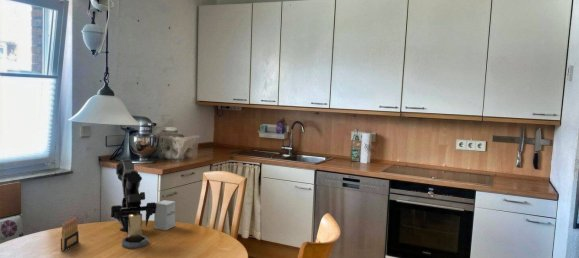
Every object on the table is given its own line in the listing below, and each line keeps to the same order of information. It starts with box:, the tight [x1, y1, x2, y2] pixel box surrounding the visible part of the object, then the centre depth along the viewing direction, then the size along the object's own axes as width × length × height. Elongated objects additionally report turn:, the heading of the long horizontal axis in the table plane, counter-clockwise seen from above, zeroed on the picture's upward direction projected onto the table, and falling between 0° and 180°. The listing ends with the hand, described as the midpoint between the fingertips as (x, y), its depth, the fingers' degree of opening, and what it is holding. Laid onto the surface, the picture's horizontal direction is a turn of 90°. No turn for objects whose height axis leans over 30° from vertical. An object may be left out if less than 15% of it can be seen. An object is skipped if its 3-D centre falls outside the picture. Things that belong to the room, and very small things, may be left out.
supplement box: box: [153, 199, 176, 231], centre depth 210 cm, size 7×7×13 cm
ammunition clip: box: [60, 215, 80, 251], centre depth 181 cm, size 11×2×12 cm, turn 178°
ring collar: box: [121, 235, 149, 250], centre depth 186 cm, size 11×11×2 cm
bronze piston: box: [127, 212, 143, 243], centre depth 186 cm, size 6×6×12 cm
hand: (135, 226), depth 184 cm, fingers open, 9 cm apart
